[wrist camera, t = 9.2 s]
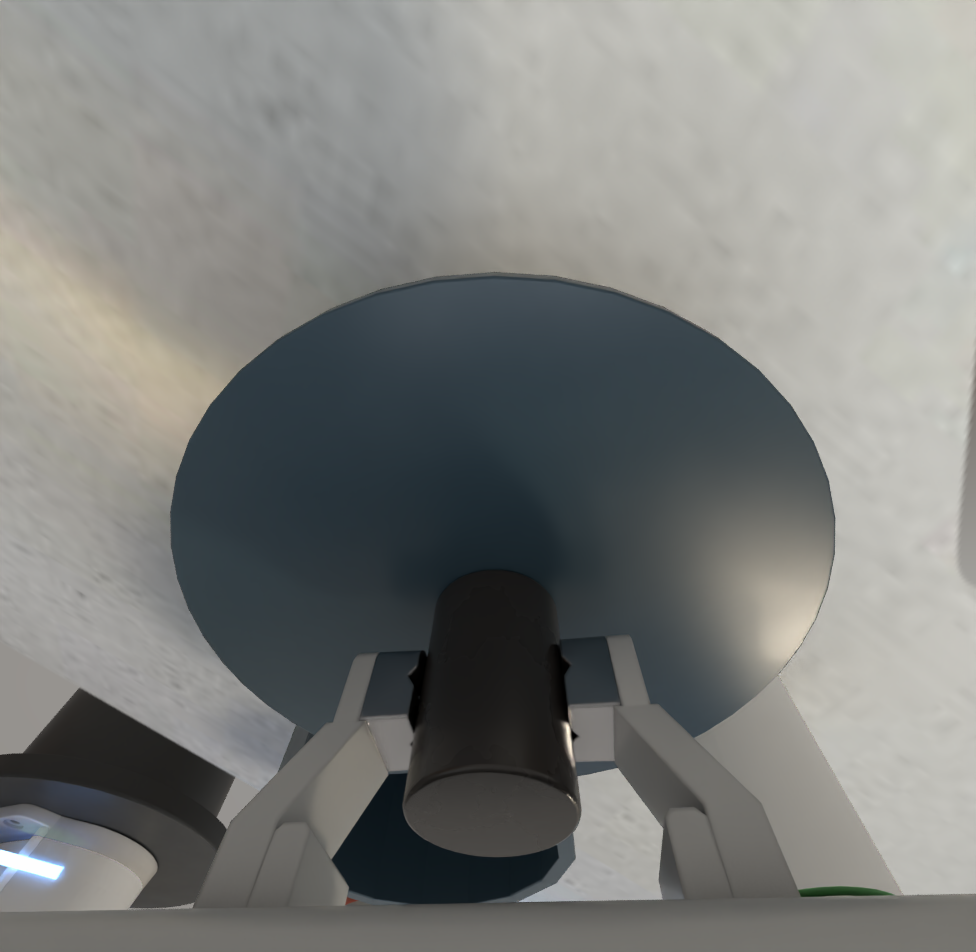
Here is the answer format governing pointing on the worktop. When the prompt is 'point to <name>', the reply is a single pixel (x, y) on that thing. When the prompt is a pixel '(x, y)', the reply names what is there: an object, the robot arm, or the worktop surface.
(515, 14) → the worktop surface
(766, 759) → the cylindrical container
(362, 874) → the pot
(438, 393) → the pot lid
